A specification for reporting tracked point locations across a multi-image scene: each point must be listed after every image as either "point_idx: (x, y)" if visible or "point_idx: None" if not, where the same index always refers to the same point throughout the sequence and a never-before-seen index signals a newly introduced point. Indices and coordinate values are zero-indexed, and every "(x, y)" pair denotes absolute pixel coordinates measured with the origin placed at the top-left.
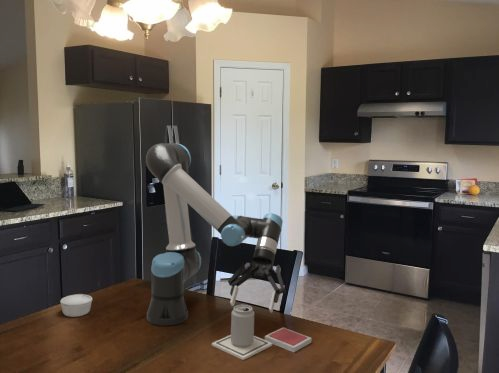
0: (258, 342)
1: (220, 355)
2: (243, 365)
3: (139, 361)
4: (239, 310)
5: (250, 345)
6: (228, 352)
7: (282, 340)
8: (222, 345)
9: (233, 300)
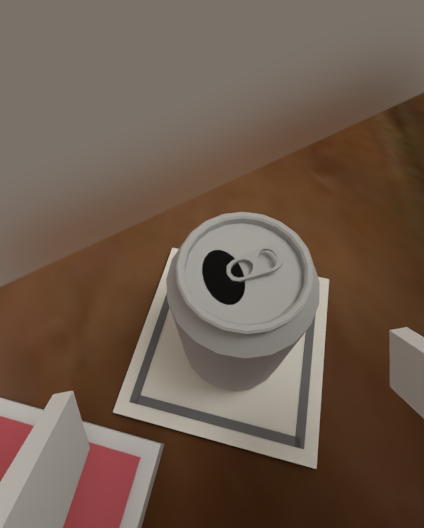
0: (173, 383)
1: None
2: (159, 229)
3: (404, 131)
4: (254, 246)
5: None
6: None
7: None
8: None
9: (413, 364)
